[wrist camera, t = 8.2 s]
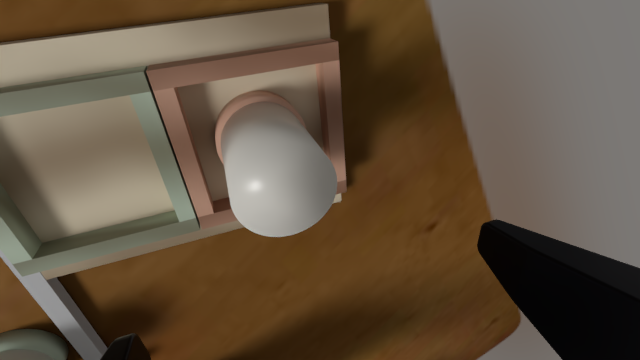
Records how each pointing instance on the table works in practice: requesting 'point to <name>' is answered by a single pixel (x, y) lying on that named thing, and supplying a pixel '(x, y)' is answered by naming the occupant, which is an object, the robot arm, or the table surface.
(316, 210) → the terracotta-banded sleeve
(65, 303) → the feeder lane
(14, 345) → the sage-banded sleeve
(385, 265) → the table surface
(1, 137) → the board
